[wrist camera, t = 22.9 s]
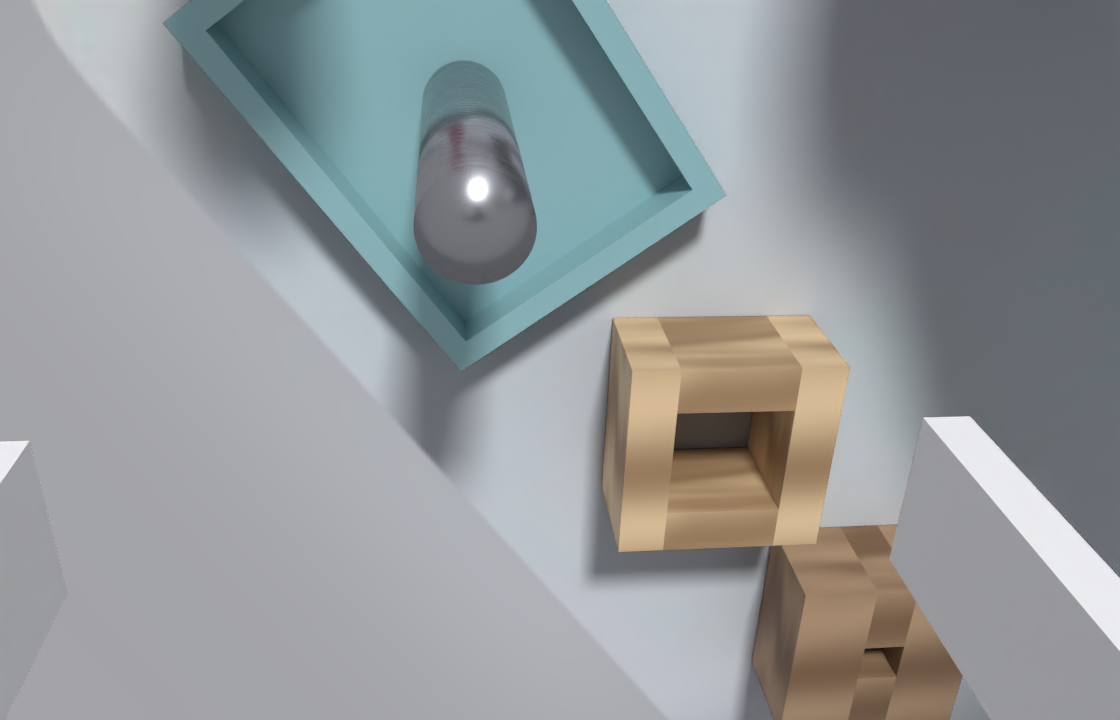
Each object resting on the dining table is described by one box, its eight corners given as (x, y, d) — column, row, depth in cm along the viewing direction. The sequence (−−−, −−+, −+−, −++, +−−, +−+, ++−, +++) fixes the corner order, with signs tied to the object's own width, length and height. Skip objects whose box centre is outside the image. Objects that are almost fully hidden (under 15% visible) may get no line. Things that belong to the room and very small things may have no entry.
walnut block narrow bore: (773, 529, 50) (805, 595, 46) (942, 523, 51) (989, 587, 47) (751, 661, 54) (779, 733, 50) (907, 653, 55) (948, 723, 51)
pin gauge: (421, 59, 37) (411, 167, 25) (506, 61, 37) (539, 168, 25) (423, 143, 38) (415, 285, 26) (505, 144, 39) (535, 284, 26)
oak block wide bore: (612, 318, 43) (632, 371, 39) (809, 315, 44) (850, 367, 40) (601, 486, 48) (618, 551, 43) (781, 480, 49) (815, 543, 44)
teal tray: (179, 12, 36) (162, 23, 34) (467, -217, 33) (469, -222, 31) (459, 344, 43) (460, 371, 41) (711, 176, 41) (726, 195, 39)
